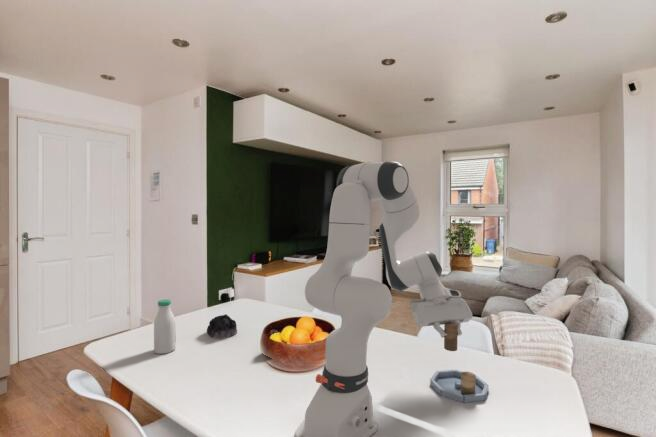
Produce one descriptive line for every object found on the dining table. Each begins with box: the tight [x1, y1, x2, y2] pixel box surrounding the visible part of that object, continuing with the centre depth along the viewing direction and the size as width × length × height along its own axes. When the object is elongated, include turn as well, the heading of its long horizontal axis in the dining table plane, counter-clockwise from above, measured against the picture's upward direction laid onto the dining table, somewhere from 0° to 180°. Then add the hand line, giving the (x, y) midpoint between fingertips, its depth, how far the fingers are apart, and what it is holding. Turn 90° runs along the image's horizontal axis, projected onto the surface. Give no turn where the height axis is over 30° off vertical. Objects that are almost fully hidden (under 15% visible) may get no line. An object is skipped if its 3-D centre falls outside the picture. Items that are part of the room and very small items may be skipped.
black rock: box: [206, 313, 238, 340], centre depth 155 cm, size 13×14×10 cm
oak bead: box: [461, 371, 477, 395], centre depth 103 cm, size 4×4×6 cm
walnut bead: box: [443, 322, 459, 352], centre depth 111 cm, size 4×4×8 cm
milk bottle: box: [153, 299, 177, 355], centre depth 136 cm, size 8×8×20 cm
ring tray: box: [429, 369, 489, 403], centre depth 107 cm, size 16×16×3 cm
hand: (452, 335), depth 110 cm, fingers closed on walnut bead, 4 cm apart
